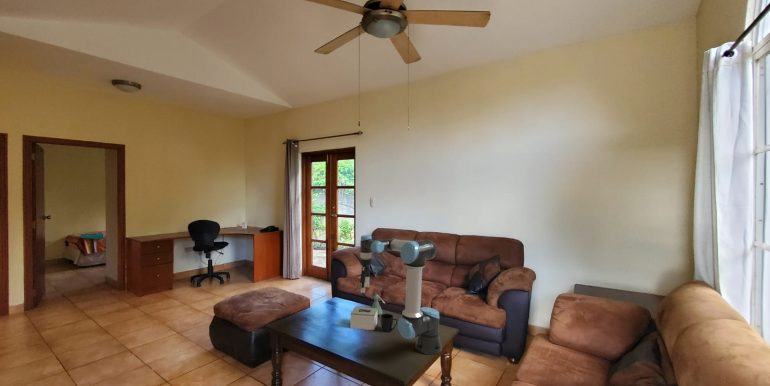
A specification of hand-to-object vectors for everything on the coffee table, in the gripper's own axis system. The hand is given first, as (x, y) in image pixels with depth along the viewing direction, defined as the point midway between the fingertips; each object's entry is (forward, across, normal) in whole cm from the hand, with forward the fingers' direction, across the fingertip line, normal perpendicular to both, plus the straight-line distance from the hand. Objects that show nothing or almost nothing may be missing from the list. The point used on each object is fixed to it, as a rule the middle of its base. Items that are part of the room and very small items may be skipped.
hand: (365, 289), depth 219 cm
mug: (+25, +5, +18) cm, 31 cm away
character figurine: (+25, -18, +4) cm, 31 cm away
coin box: (+25, 0, 0) cm, 25 cm away
